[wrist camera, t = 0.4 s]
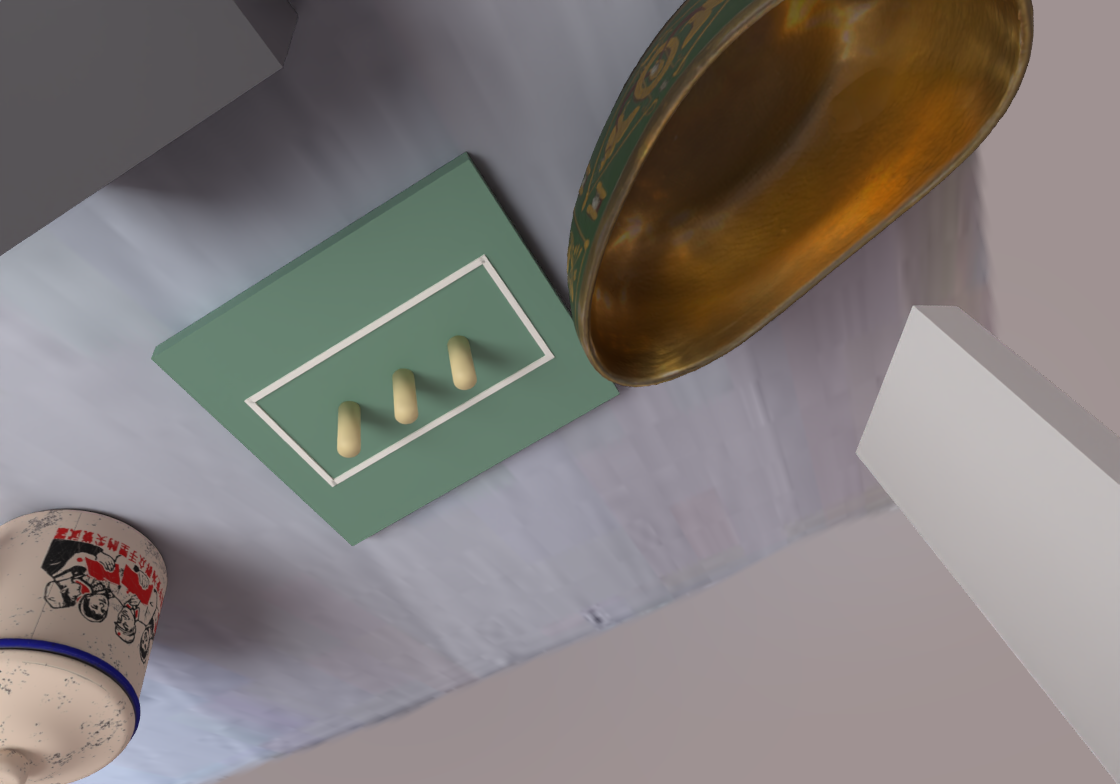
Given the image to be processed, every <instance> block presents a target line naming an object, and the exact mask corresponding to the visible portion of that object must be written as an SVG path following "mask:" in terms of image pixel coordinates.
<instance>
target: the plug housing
mask: <svg viewBox="0 0 1120 784" xmlns="http://www.w3.org/2000/svg"><path fill="white" fill-rule="evenodd" d="M297 19H298V15H297V14H296V12H295V11H294V9H293V8H292V6H291V5H290V4H289V2H288V1H287V0H1V1H0V256H1V255H2V254H4V253H5V252H7V251H8V250H10V249H11V248H13V247H14V246H16V245H17V244H19V243H20V242H22V241H23V240H25V239H26V238H28V237H29V236H31V235H32V234H34V233H35V232H37V231H38V230H40V229H41V228H43V227H44V226H46V225H47V224H49V223H50V222H52V221H53V220H55V219H56V218H58V217H59V216H61V215H62V214H64V213H65V212H67V211H68V210H70V209H71V208H73V207H74V206H76V205H77V204H79V203H80V202H82V201H83V200H85V199H86V198H88V197H89V196H91V195H92V194H94V193H95V192H97V191H98V190H100V189H101V188H103V187H104V186H106V185H107V184H109V183H110V182H112V181H113V180H115V179H116V178H118V177H119V176H121V175H122V174H124V173H125V172H127V171H128V170H130V169H131V168H133V167H134V166H136V165H137V164H139V163H140V162H142V161H143V160H145V159H146V158H148V157H149V156H151V155H152V154H154V153H155V152H157V151H158V150H160V149H161V148H163V147H164V146H166V145H167V144H169V143H170V142H172V141H173V140H175V139H176V138H178V137H179V136H181V135H182V134H184V133H185V132H187V131H188V130H190V129H191V128H193V127H194V126H196V125H197V124H199V123H200V122H202V121H203V120H205V119H206V118H208V117H209V116H211V115H212V114H214V113H215V112H217V111H218V110H220V109H221V108H223V107H224V106H226V105H227V104H229V103H230V102H232V101H233V100H235V99H236V98H238V97H239V96H241V95H242V94H244V93H245V92H247V91H249V90H250V89H252V88H253V87H255V86H256V85H258V84H259V83H261V82H262V81H264V80H265V79H267V78H268V77H270V76H271V75H273V74H274V73H276V72H277V71H279V70H280V69H282V68H283V65H284V62H285V59H286V55H287V52H288V49H289V45H290V42H291V39H292V35H293V32H294V29H295V25H296V22H297Z"/></svg>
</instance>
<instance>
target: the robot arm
mask: <svg viewBox="0 0 1120 784" xmlns="http://www.w3.org/2000/svg"><path fill="white" fill-rule="evenodd" d="M856 454H857V456H858V457H859V458H860V459H861V461H862V462H863V463H864V464H865V466H866V467H867V468H868V469H869V471H870V472H871V473H872V475H873V476H874V477H875V478H876V480H877V481H878V482H879V483H880V485H881V486H882V487H883V488H884V490H885V491H886V492H887V493H888V495H889V496H890V497H891V499H892V500H893V501H894V502H895V504H896V505H897V506H898V507H899V509H900V510H901V511H902V512H903V514H904V515H905V516H906V518H907V519H908V520H909V521H910V523H911V524H912V525H913V526H914V528H915V529H916V530H917V531H918V533H919V534H920V535H921V537H922V538H923V539H924V540H925V542H926V543H927V544H928V545H929V547H930V548H931V549H932V550H933V552H934V553H935V554H936V555H937V557H938V558H939V559H940V560H941V562H942V563H943V564H944V566H945V567H946V568H947V569H948V571H949V572H950V573H951V574H952V575H953V577H954V578H955V579H956V581H957V582H958V583H959V584H960V586H961V587H962V588H963V590H964V591H965V592H966V593H967V595H968V596H969V597H970V598H971V600H972V601H973V602H974V604H975V605H976V606H977V607H978V608H979V610H980V611H981V612H982V613H983V615H984V616H985V617H986V619H987V620H988V621H989V623H990V624H991V625H992V626H993V628H994V629H995V630H996V631H997V633H998V634H999V635H1000V636H1001V638H1002V639H1003V640H1004V641H1005V643H1006V644H1007V645H1008V647H1009V648H1010V649H1011V650H1012V652H1013V653H1014V654H1015V655H1016V657H1017V658H1018V659H1019V660H1020V662H1021V663H1022V664H1023V665H1024V667H1025V668H1026V669H1027V671H1028V672H1029V673H1030V674H1031V676H1032V677H1033V678H1034V679H1035V681H1036V682H1037V683H1038V684H1039V685H1040V687H1041V688H1042V689H1043V691H1044V692H1045V693H1046V695H1047V696H1048V697H1049V698H1050V700H1051V701H1052V702H1053V703H1054V705H1055V706H1056V707H1057V708H1058V710H1059V711H1060V712H1061V714H1062V715H1063V716H1064V717H1065V719H1066V720H1067V721H1068V722H1069V724H1070V725H1071V726H1072V727H1073V729H1074V730H1075V731H1076V733H1077V734H1078V735H1079V736H1080V738H1081V739H1082V740H1083V741H1084V743H1085V744H1086V745H1087V746H1088V748H1089V749H1090V750H1091V751H1092V753H1093V754H1094V755H1095V757H1096V758H1097V759H1098V760H1099V762H1100V763H1101V764H1102V765H1103V767H1104V768H1105V769H1106V770H1107V772H1108V773H1109V774H1110V776H1111V777H1112V778H1113V779H1114V781H1115V782H1116V783H1117V784H1120V437H1119V436H1118V435H1117V434H1115V433H1114V432H1113V431H1112V430H1110V429H1109V428H1108V427H1107V426H1105V425H1104V424H1103V423H1102V422H1100V421H1099V420H1098V419H1097V418H1095V417H1094V416H1093V415H1092V414H1090V413H1089V412H1088V411H1087V410H1086V409H1084V408H1083V407H1082V406H1081V405H1079V404H1078V403H1077V402H1076V401H1074V400H1073V399H1072V398H1071V397H1069V396H1068V395H1067V394H1066V393H1065V392H1063V391H1062V390H1061V389H1060V388H1058V387H1057V386H1056V385H1055V384H1053V383H1052V382H1051V381H1050V380H1048V379H1047V378H1046V377H1045V376H1044V375H1042V374H1041V373H1040V372H1038V371H1037V370H1036V369H1035V368H1033V367H1032V366H1031V365H1030V364H1029V363H1027V362H1026V361H1025V360H1024V359H1022V358H1021V357H1020V356H1019V355H1018V354H1016V353H1015V352H1014V351H1012V350H1011V349H1010V348H1009V347H1007V346H1006V345H1005V344H1004V343H1003V342H1001V341H1000V340H999V339H998V338H996V337H995V336H994V335H993V334H992V333H990V332H989V331H988V330H987V329H985V328H984V327H983V326H982V325H980V324H979V323H978V322H977V321H975V320H974V319H973V318H972V317H971V316H969V315H968V314H967V313H966V312H964V311H963V310H962V309H961V308H959V307H958V306H926V305H913V307H912V309H911V312H910V314H909V317H908V319H907V322H906V325H905V327H904V330H903V332H902V335H901V337H900V340H899V343H898V345H897V348H896V350H895V353H894V355H893V358H892V361H891V363H890V366H889V368H888V371H887V373H886V376H885V379H884V381H883V384H882V386H881V389H880V391H879V394H878V397H877V399H876V402H875V404H874V407H873V409H872V412H871V415H870V417H869V420H868V422H867V425H866V427H865V430H864V433H863V435H862V438H861V440H860V443H859V445H858V448H857V451H856Z"/></svg>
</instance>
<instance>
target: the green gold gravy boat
mask: <svg viewBox="0 0 1120 784" xmlns="http://www.w3.org/2000/svg"><path fill="white" fill-rule="evenodd" d="M1033 26H1034V25H1033V6H1032V1H1031V0H686V1H685V2H684V3H683V4H682V5H681V6H680V8H679V9H678V10H677V11H676V12H675V13H674V14H673V15H672V17H671V18H670V19H669V20H668V21H667V22H666V24H665V25H664V26H663V28H662V29H661V30H660V31H659V33H658V34H657V36H656V37H655V38H654V40H653V41H652V43H651V44H650V45H649V47H648V48H647V50H646V51H645V52H644V54H643V56H642V57H641V59H640V60H639V62H638V64H637V66H636V67H635V68H634V70H633V71H632V73H631V75H630V77H629V78H628V80H627V82H626V83H625V85H624V87H623V89H622V91H621V93H620V95H619V97H618V99H617V101H616V103H615V105H614V107H613V109H612V111H611V114H610V116H609V118H608V120H607V122H606V124H605V126H604V128H603V130H602V133H601V135H600V137H599V139H598V142H597V144H596V146H595V149H594V151H593V154H592V156H591V159H590V161H589V164H588V167H587V169H586V172H585V175H584V178H583V181H582V184H581V187H580V189H579V194H578V198H577V201H576V204H575V208H574V211H573V219H572V224H571V230H570V238H569V246H568V253H567V257H568V259H567V274H568V276H567V279H568V288H569V297H570V305H571V312H572V317H573V322H574V327H575V330H576V333H577V336H578V339H579V341H580V344H581V346H582V348H583V350H584V352H585V354H586V356H587V358H588V359H589V361H590V363H591V364H592V366H593V367H594V369H595V370H596V371H597V372H598V373H599V374H600V375H601V376H602V377H604V378H605V379H607V380H608V381H611V382H613V383H617V384H619V385H622V386H629V387H642V386H650V385H657V384H659V383H663V382H666V381H670V380H673V379H676V378H678V377H680V376H683V375H685V374H687V373H690V372H693V371H696V370H697V369H699V368H701V367H703V366H705V365H707V364H709V363H711V362H712V361H714V360H716V359H718V358H720V357H722V356H723V355H725V354H727V353H728V352H730V351H732V350H733V349H735V348H736V347H738V346H739V345H741V344H742V343H743V342H745V341H746V340H747V339H749V338H750V337H751V336H753V335H754V334H755V333H757V332H758V331H759V330H761V329H762V328H763V327H764V326H766V325H767V324H768V323H769V322H770V321H772V320H773V319H775V318H776V317H777V316H778V315H780V314H781V313H783V312H784V311H785V310H786V309H787V308H789V307H790V306H791V305H792V304H793V303H795V302H796V301H797V300H798V299H799V298H801V297H802V296H803V295H804V294H806V293H807V292H808V291H809V290H810V289H812V288H813V287H814V286H815V285H817V284H818V283H819V282H820V281H821V280H822V279H824V278H825V277H826V276H827V275H828V274H829V273H831V272H832V271H833V270H834V269H835V268H837V267H838V266H839V265H840V264H842V263H843V262H844V261H846V260H847V259H848V258H849V257H851V256H852V255H853V254H854V253H855V252H857V251H858V250H859V249H860V248H862V247H863V246H864V245H865V244H867V243H868V242H869V241H870V240H872V239H873V238H874V237H875V236H877V235H878V234H879V233H880V232H882V231H883V230H884V229H885V228H886V227H887V226H889V225H890V224H891V223H892V222H894V221H895V220H896V219H897V218H899V217H900V216H901V215H902V214H903V213H905V212H906V211H907V210H908V209H910V208H911V207H912V206H913V205H915V204H916V203H917V202H918V201H919V200H921V199H922V198H923V197H924V196H926V195H927V194H928V193H929V192H930V191H931V190H932V189H934V188H935V187H936V186H937V185H938V184H940V183H941V182H942V181H943V180H944V179H945V178H946V177H947V176H948V175H950V174H951V173H952V172H953V171H954V170H955V169H956V168H957V167H958V166H959V165H960V164H961V163H963V162H964V160H966V158H967V157H969V156H970V155H971V154H972V153H973V152H974V151H975V150H976V149H977V148H978V147H979V145H980V144H981V143H982V142H983V141H984V140H985V139H986V138H987V136H988V135H989V134H990V133H991V131H992V129H993V128H994V127H995V126H996V125H997V123H998V122H999V120H1000V119H1001V118H1002V117H1003V115H1004V114H1005V112H1006V111H1007V109H1008V107H1009V106H1010V104H1011V102H1012V100H1013V98H1014V97H1015V95H1016V93H1017V91H1018V90H1019V87H1020V85H1021V82H1022V80H1023V77H1024V74H1025V72H1026V69H1027V66H1028V63H1029V59H1030V55H1031V49H1032V42H1033Z"/></svg>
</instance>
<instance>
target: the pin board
mask: <svg viewBox="0 0 1120 784" xmlns="http://www.w3.org/2000/svg"><path fill="white" fill-rule="evenodd" d="M151 359H152V360H153V361H154V362H155V363H156V364H157V365H158V366H159V367H160V368H161V369H163V370H164V371H165V372H166V373H167V374H168V375H169V376H170V377H171V378H172V379H173V380H174V381H175V382H177V383H178V384H179V385H180V386H181V387H182V388H183V389H184V390H185V391H186V392H187V393H188V394H189V395H190V396H192V397H193V398H194V399H195V400H196V401H197V402H198V403H199V404H200V405H201V406H202V407H203V408H204V409H206V410H207V411H208V412H209V413H210V414H211V415H212V416H213V417H214V418H215V419H216V420H217V421H218V422H219V423H221V424H222V425H223V426H224V427H225V428H226V429H227V430H228V431H229V432H230V433H231V434H232V435H233V436H235V437H236V438H237V439H238V440H239V441H240V442H241V443H242V444H243V445H244V446H245V447H246V448H247V449H248V450H250V451H251V452H252V453H253V454H254V455H255V456H256V457H257V458H258V459H259V460H260V461H261V462H262V463H264V464H265V465H266V466H267V467H268V468H269V469H270V470H271V471H272V472H273V473H274V474H275V475H276V476H277V477H279V478H280V479H281V480H282V481H283V482H284V483H285V484H286V485H287V486H288V487H289V488H290V489H291V490H293V491H294V492H295V493H296V494H297V495H298V496H299V497H300V498H301V499H302V500H303V501H304V502H305V503H306V504H308V505H309V506H310V507H311V508H312V509H313V510H314V511H315V512H316V513H317V514H318V515H319V516H320V517H322V518H323V519H324V520H325V521H326V522H327V523H328V524H329V525H330V526H331V527H332V528H333V529H334V530H336V531H337V532H338V533H339V534H340V535H341V536H342V537H343V538H344V539H345V540H346V541H347V542H348V543H349V544H351V545H352V546H354V545H356V544H358V543H359V542H361V541H363V540H365V539H366V538H368V537H370V536H372V535H373V534H375V533H377V532H379V531H380V530H382V529H384V528H386V527H387V526H389V525H391V524H393V523H394V522H396V521H398V520H400V519H401V518H403V517H405V516H407V515H408V514H410V513H412V512H414V511H415V510H417V509H419V508H421V507H422V506H424V505H426V504H428V503H429V502H431V501H433V500H435V499H436V498H438V497H440V496H442V495H443V494H445V493H447V492H449V491H450V490H452V489H454V488H456V487H457V486H459V485H461V484H463V483H464V482H466V481H468V480H470V479H471V478H473V477H475V476H477V475H478V474H480V473H482V472H484V471H485V470H487V469H489V468H491V467H492V466H494V465H496V464H498V463H499V462H501V461H503V460H505V459H506V458H508V457H510V456H512V455H513V454H515V453H517V452H519V451H520V450H522V449H524V448H526V447H527V446H529V445H531V444H533V443H534V442H536V441H538V440H540V439H541V438H543V437H545V436H547V435H548V434H550V433H552V432H554V431H555V430H557V429H559V428H561V427H562V426H564V425H566V424H568V423H569V422H571V421H573V420H575V419H576V418H578V417H580V416H582V415H583V414H585V413H587V412H589V411H590V410H592V409H594V408H596V407H597V406H599V405H601V404H603V403H604V402H606V401H608V400H610V399H611V398H613V397H615V396H617V395H618V394H620V393H619V391H618V389H617V387H616V385H615V383H613V382H611V381H608V380H607V379H605V378H604V377H602V376H601V375H600V374H599V373H598V372H597V371H596V370H595V369H594V367H593V366H592V364H591V363H590V361H589V359H588V358H587V356H586V354H585V352H584V350H583V348H582V346H581V344H580V341H579V339H578V336H577V333H576V330H575V327H574V322H573V317H572V316H571V314H570V312H569V311H568V309H567V308H566V306H565V305H564V303H563V302H562V300H561V298H560V297H559V295H558V294H557V292H556V291H555V289H554V287H553V286H552V284H551V283H550V281H549V280H548V278H547V277H546V275H545V273H544V272H543V270H542V269H541V267H540V266H539V264H538V263H537V261H536V259H535V258H534V256H533V255H532V253H531V252H530V250H529V248H528V247H527V245H526V244H525V242H524V241H523V239H522V238H521V236H520V234H519V233H518V231H517V230H516V228H515V227H514V225H513V223H512V222H511V220H510V219H509V217H508V216H507V214H506V213H505V211H504V209H503V208H502V206H501V205H500V203H499V202H498V200H497V199H496V197H495V195H494V194H493V192H492V191H491V189H490V188H489V186H488V184H487V183H486V181H485V180H484V178H483V177H482V175H481V174H480V172H479V170H478V169H477V167H476V166H475V164H474V163H473V161H472V160H471V158H470V156H469V155H468V153H467V152H465V153H463V154H462V155H460V156H458V157H457V158H455V159H454V160H452V161H451V162H449V163H447V164H446V165H444V166H443V167H441V168H439V169H438V170H436V171H435V172H433V173H431V174H430V175H428V176H427V177H425V178H424V179H422V180H420V181H419V182H417V183H416V184H414V185H412V186H411V187H409V188H408V189H406V190H404V191H403V192H401V193H400V194H398V195H396V196H395V197H393V198H392V199H390V200H389V201H387V202H385V203H384V204H382V205H381V206H379V207H377V208H376V209H374V210H373V211H371V212H369V213H368V214H366V215H365V216H363V217H362V218H360V219H358V220H357V221H355V222H354V223H352V224H350V225H349V226H347V227H346V228H344V229H342V230H341V231H339V232H338V233H336V234H335V235H333V236H331V237H330V238H328V239H327V240H325V241H323V242H322V243H320V244H319V245H317V246H315V247H314V248H312V249H311V250H309V251H308V252H306V253H304V254H303V255H301V256H300V257H298V258H296V259H295V260H293V261H292V262H290V263H288V264H287V265H285V266H284V267H282V268H281V269H279V270H277V271H276V272H274V273H273V274H271V275H269V276H268V277H266V278H265V279H263V280H261V281H260V282H258V283H257V284H255V285H254V286H252V287H250V288H249V289H247V290H246V291H244V292H242V293H241V294H239V295H238V296H236V297H234V298H233V299H231V300H230V301H228V302H227V303H225V304H223V305H222V306H220V307H219V308H217V309H215V310H214V311H212V312H211V313H209V314H207V315H206V316H204V317H203V318H201V319H200V320H198V321H196V322H195V323H193V324H192V325H190V326H188V327H187V328H185V329H184V330H182V331H180V332H179V333H177V334H176V335H174V336H172V337H171V338H169V339H168V340H166V341H165V342H163V343H161V344H160V345H158V346H157V347H156V348H155V350H154V353H153V355H152V358H151Z"/></svg>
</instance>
